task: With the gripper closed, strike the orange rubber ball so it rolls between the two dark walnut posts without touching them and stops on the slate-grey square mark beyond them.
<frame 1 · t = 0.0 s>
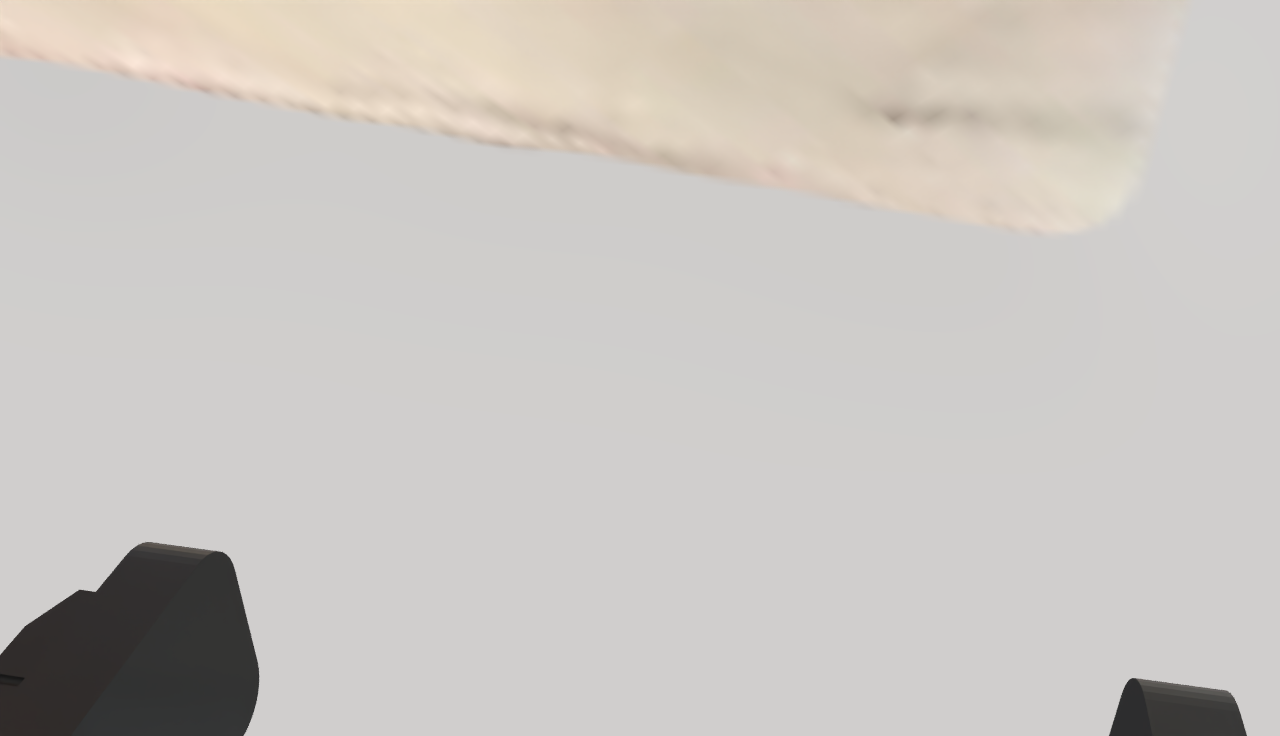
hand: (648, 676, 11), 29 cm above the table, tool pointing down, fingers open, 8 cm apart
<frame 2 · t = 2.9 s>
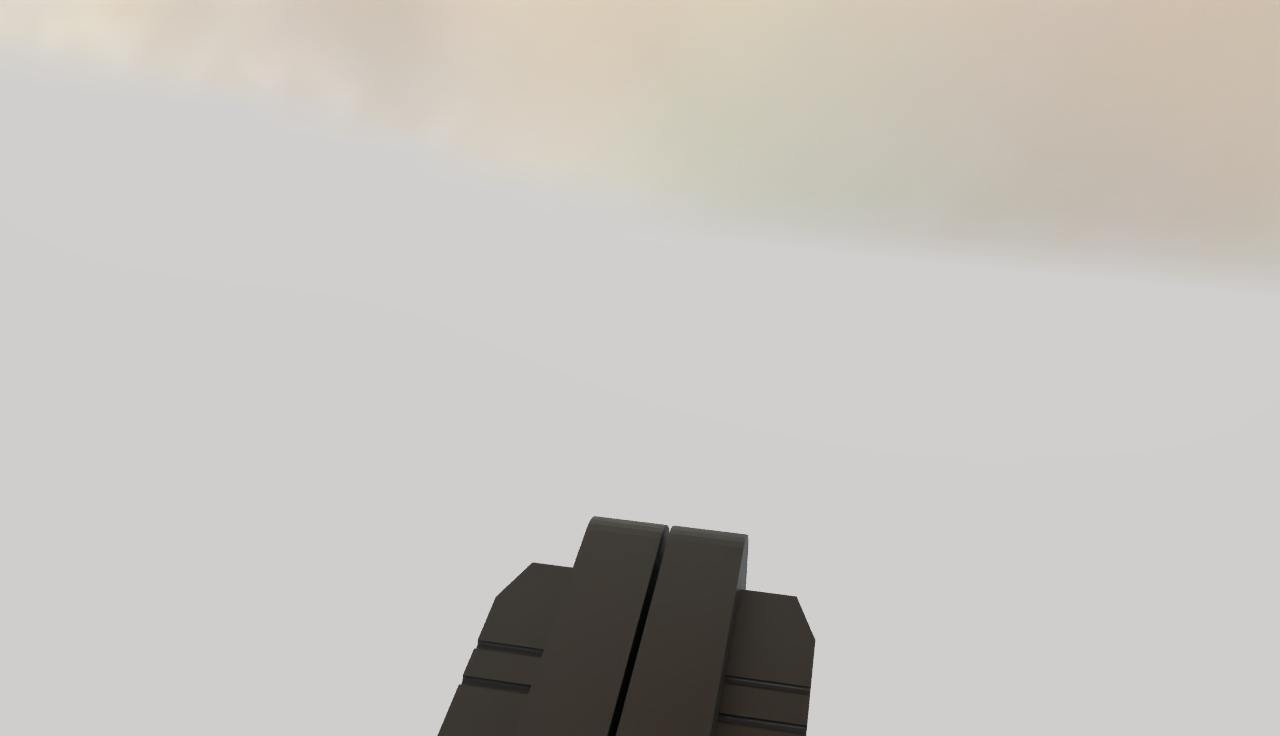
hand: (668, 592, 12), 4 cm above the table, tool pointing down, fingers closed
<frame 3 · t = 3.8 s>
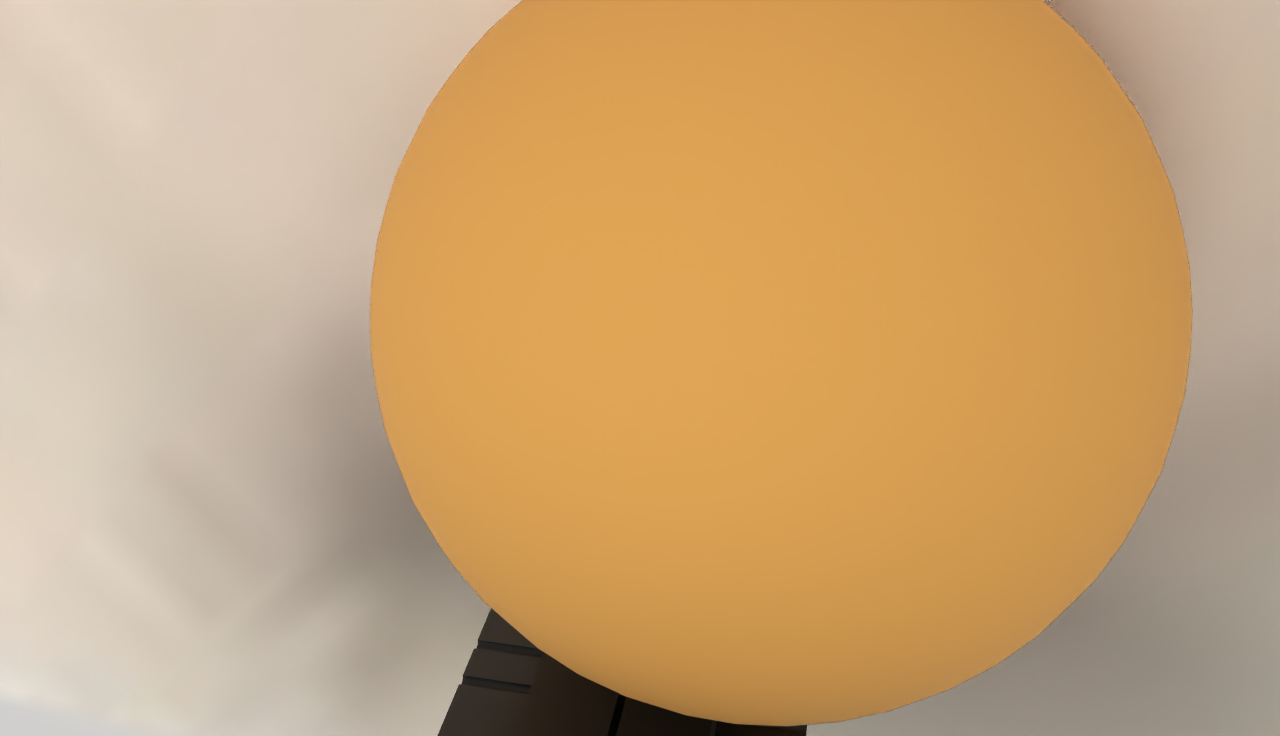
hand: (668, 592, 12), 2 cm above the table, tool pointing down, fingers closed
ball: (766, 322, 9), on the table, touching gripper
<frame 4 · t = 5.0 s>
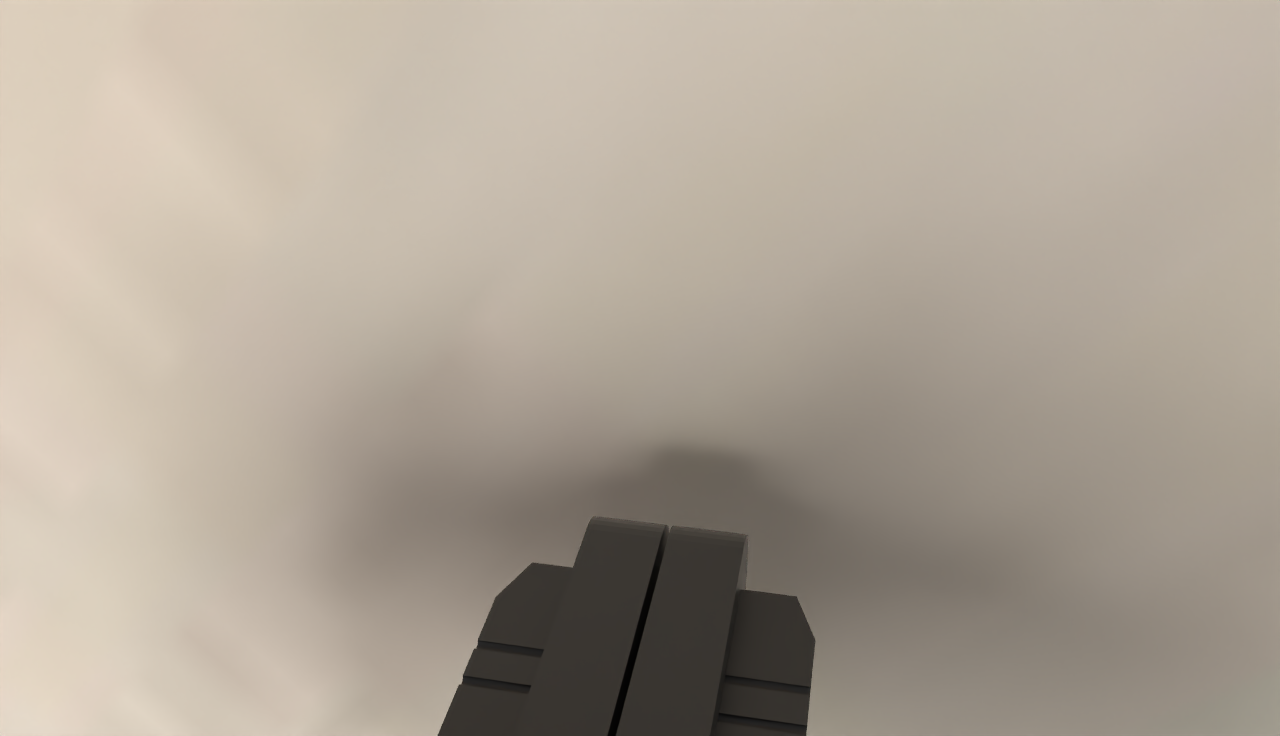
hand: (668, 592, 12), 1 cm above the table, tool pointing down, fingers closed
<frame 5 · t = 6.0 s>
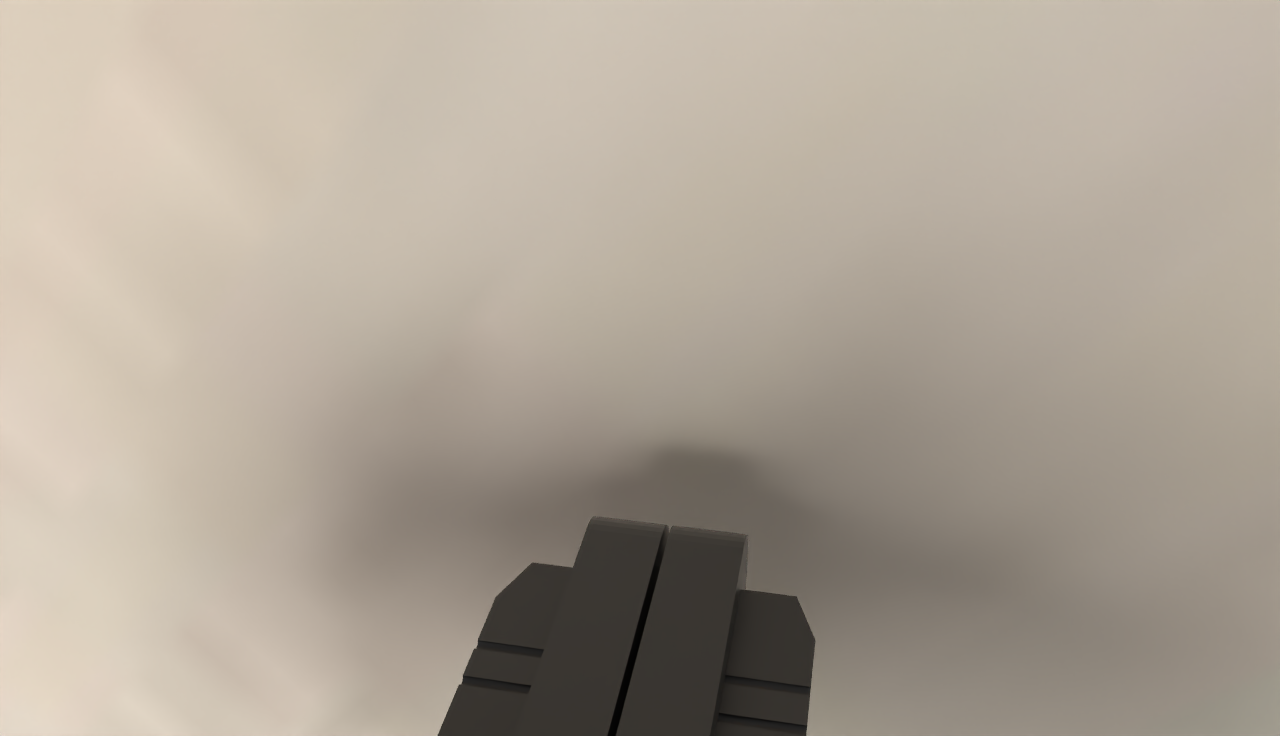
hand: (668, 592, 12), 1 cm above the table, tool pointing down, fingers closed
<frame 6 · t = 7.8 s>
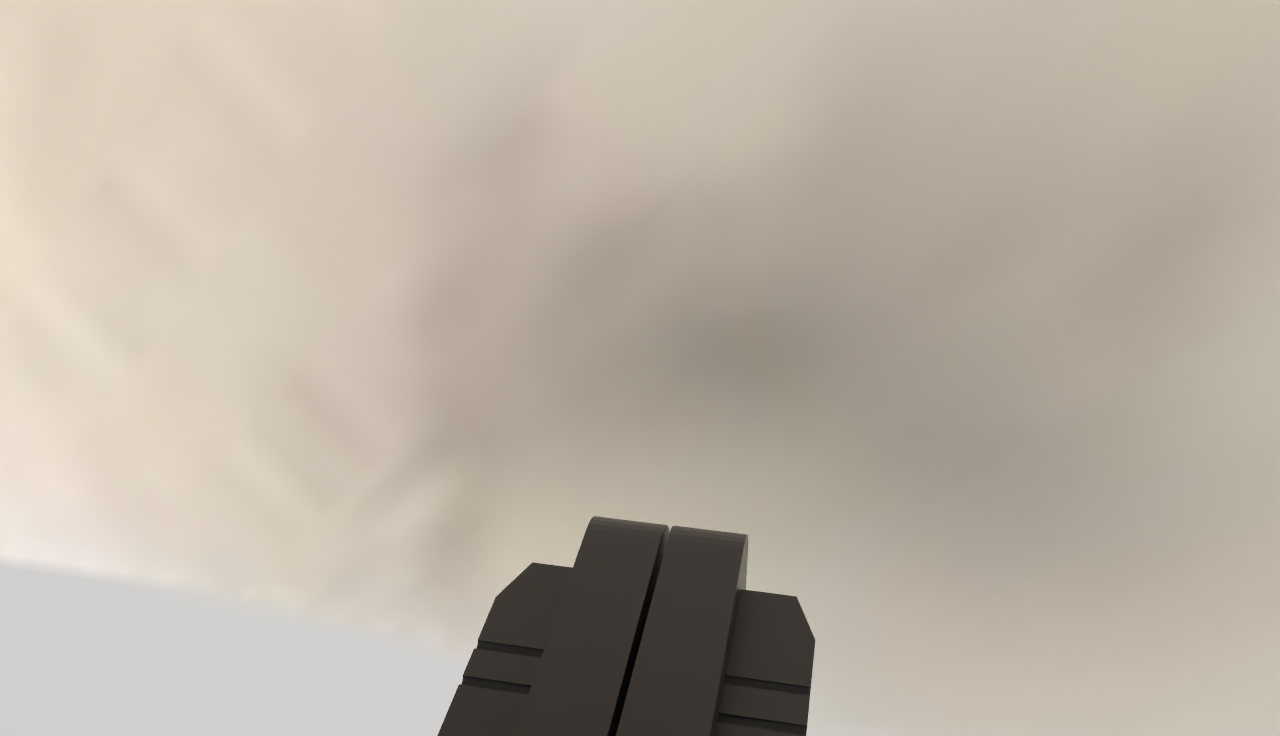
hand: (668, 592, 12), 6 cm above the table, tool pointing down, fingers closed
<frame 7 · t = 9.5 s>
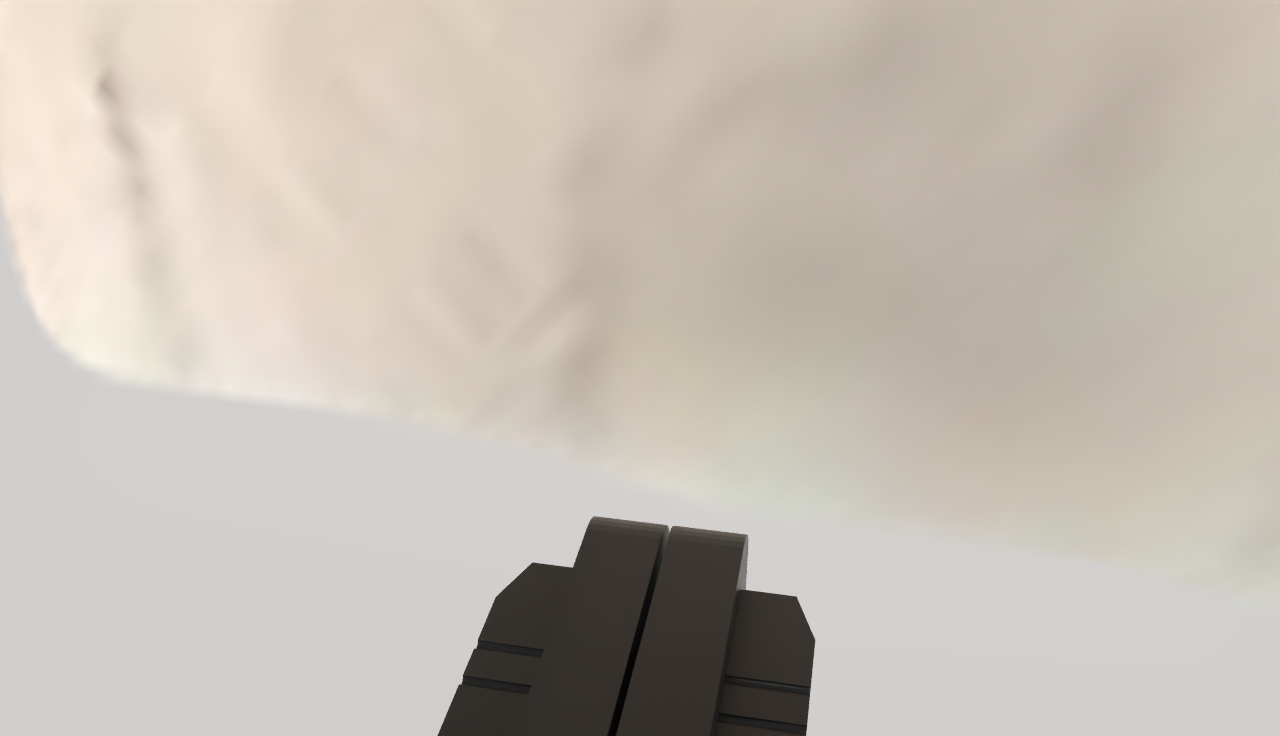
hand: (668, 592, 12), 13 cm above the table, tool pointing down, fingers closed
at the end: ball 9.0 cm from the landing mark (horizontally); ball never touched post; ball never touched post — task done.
